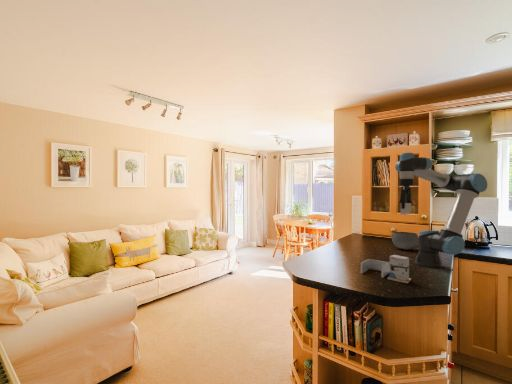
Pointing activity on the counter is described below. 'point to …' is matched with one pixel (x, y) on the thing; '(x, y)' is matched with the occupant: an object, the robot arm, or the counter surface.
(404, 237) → the bowl
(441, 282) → the counter surface
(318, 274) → the counter surface
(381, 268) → the cradle
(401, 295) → the counter surface
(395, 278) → the pad
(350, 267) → the counter surface
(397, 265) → the ink box
